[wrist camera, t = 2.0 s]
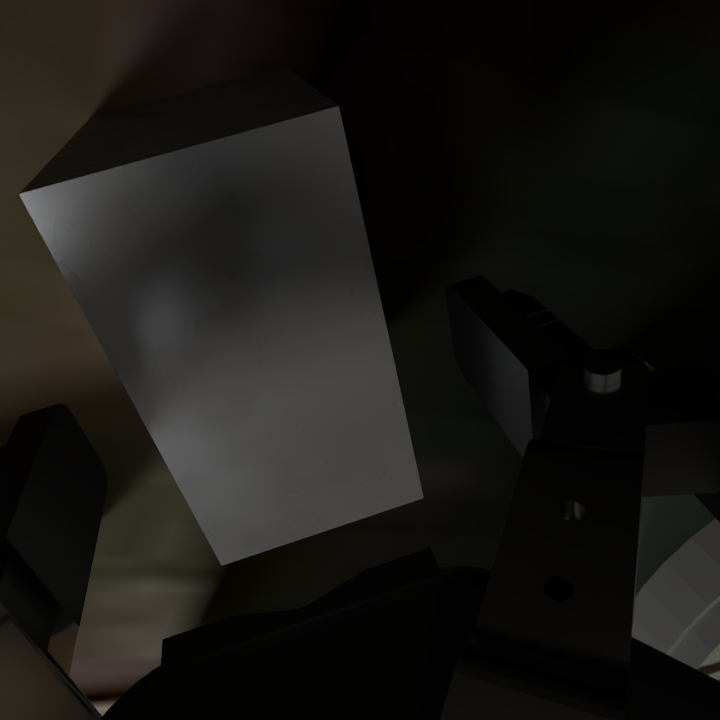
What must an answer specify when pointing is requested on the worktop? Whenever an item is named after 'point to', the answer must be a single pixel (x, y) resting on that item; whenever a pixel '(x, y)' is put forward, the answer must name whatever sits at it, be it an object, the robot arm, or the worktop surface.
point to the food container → (679, 580)
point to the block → (237, 303)
